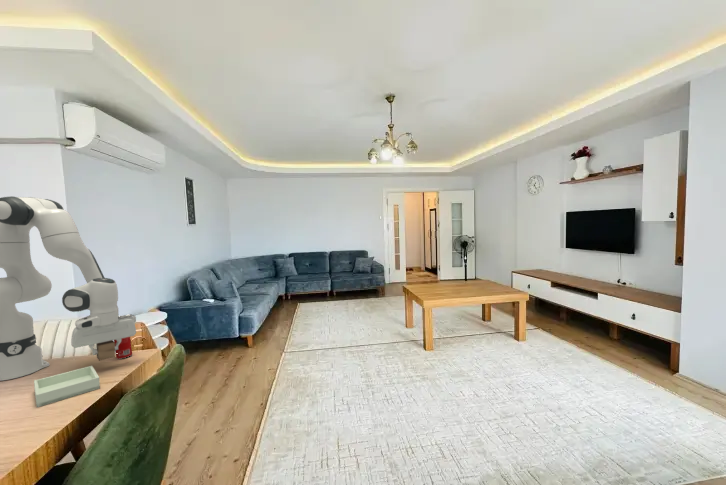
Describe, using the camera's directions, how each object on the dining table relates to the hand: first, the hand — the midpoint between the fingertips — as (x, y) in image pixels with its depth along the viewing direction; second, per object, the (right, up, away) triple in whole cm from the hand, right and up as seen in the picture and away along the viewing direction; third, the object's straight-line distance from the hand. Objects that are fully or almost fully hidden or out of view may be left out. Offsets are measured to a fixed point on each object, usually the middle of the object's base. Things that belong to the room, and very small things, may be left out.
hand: (105, 352), depth 127 cm
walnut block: (0, -2, 0) cm, 2 cm away
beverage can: (-2, -7, +13) cm, 15 cm away
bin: (0, -8, -16) cm, 18 cm away
